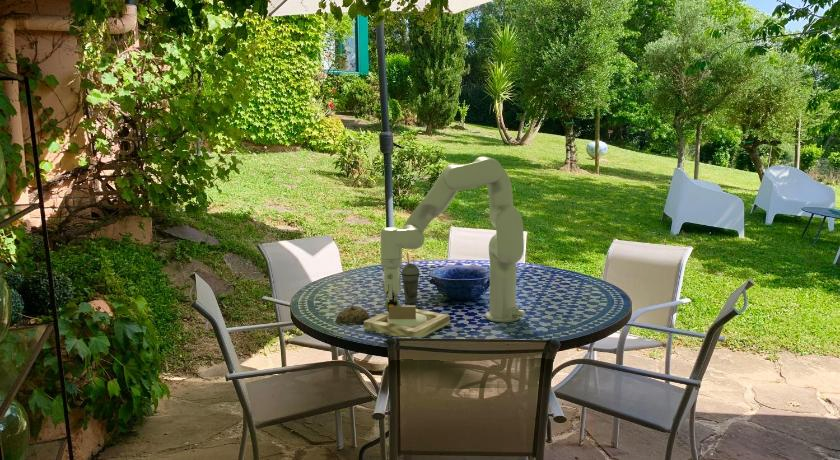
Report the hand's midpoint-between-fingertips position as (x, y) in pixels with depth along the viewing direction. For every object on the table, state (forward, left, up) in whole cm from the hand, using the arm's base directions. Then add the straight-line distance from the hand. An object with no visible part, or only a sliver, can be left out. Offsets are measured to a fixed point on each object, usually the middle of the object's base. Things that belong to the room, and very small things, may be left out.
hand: (392, 312), depth 236 cm
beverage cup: (+11, -27, -4) cm, 29 cm away
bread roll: (+16, +3, -5) cm, 17 cm away
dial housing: (-7, 0, -4) cm, 8 cm away
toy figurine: (+9, -12, -4) cm, 16 cm away
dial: (-6, 0, -3) cm, 7 cm away
